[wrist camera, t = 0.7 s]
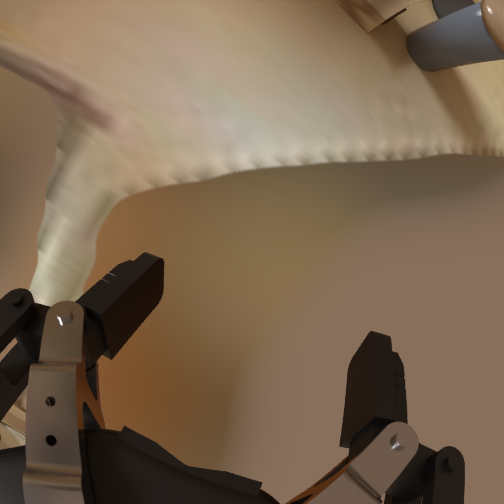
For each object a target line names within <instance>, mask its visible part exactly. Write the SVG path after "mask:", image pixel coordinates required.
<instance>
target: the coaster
mask: <svg viewBox="0 0 504 504" xmlns="http://www.w3.org/2000/svg"><path fill="white" fill-rule="evenodd" d="M432 3H433V7H434V10H435V12H436V14H437V16H438V18H439V19H440V18H442V17H445V16H447V15H449V14H451V13H454V12H456V11H459V10H461V9H463V8H466V7H468V6H471V5H474V4H475V3H474V2H473V1H472V0H432Z"/></svg>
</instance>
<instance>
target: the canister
mask: <svg viewBox="0 0 504 504" xmlns="http://www.w3.org/2000/svg"><path fill="white" fill-rule="evenodd" d="M407 49H408V52H409V54H410V56H411V58H412V59H413V61H414V62H415V63H416V64H417V65H418V66H419V67H421V68H422V69H424V70H426V71H430V72H434V71H439V70H443V69H448V68H453V67H458V66H463V65H469V64H474V63H480V62H487V61H494V60H502V59H504V0H482V1H481V2H479V3H476V4H474V5H471V6H468V7H466V8H463V9H461V10H459V11H456V12H454V13H451V14H449V15H447V16H445V17H442V18H440V19H438V20H436V21H434V22H431V23H429V24H427V25H425V26H423V27H421V28H419V29H417V30H415V31H413V32H411V33H410V34H409V35H408V37H407Z"/></svg>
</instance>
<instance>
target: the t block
mask: <svg viewBox="0 0 504 504" xmlns="http://www.w3.org/2000/svg"><path fill="white" fill-rule="evenodd" d="M336 3H338V4H339V5H340V6H341V7H342V8H343V9H344V10H345V11H346V12H347V13H348V14H349V15H350V16H351V17H352V18H353V19H354V20H355V21H356V22H357V23H358V24H359V25H360V26H361V27H362V28H363V29H364V30H365V31H366V32H367V33H368V32H370V31H371V30H373V29H374V28H376V27H377V26H379V25H380V24H383V25H384V24H386V23H387V22H389V21H390V20H392V19H393V18H395V17H396V16H398V15H399V14H401V13H403V12H404V11H406V10H407V9H406V7H408V6H410V5H411V4H413V3H412V1H411V0H337V1H336Z"/></svg>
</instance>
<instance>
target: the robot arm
mask: <svg viewBox="0 0 504 504" xmlns="http://www.w3.org/2000/svg"><path fill="white" fill-rule="evenodd" d="M163 289H164V260H163V259H162V258H160V257H157V256H155V255H152V254H149V253H147V252H144V253H143V254H141V255H140V256H139V257H138V258H137V259H135V260H134V261H132V260H128V261H126V262H123V263H121V264H118V265H117V266H116V267H115V268H113V269H112V270H111V271H110V272H109V274H106V275H105V276H104V277H103V278H102V280H99V281H98V282H97V283H96V284H95V285H94V286H92V287H91V288H90V289H89V290H88V291H87V292H86V293H85V294H83V295H82V296H81V297H80V298H79V299H78V300H77V301H75V302H73V301H61V302H58V303H56V304H54V305H53V306H52V307H49V306H46V305H42V304H38V303H35V302H34V299H33V296H32V294H31V292H30V291H29V290H27V289H22V288H19V289H15V290H12V291H10V292H9V293H8V294H6V295H5V296H4V297H3V298H2V299H0V353H1V352H2V351H3V350H4V349H5V348H6V346H7V345H8V344H9V343H10V342H11V341H12V340H13V339H14V338H16V340H17V341H18V342H17V344H16V345H15V346H14V347H13V348H12V349H11V350H10V351H9V352H8V354H7V355H6V356H5V357H4V358H3V360H1V362H0V422H1V420H2V419H3V417H4V416H5V415H6V413H7V412H8V411H9V409H10V408H11V406H12V405H13V404H14V402H15V401H16V400H17V398H18V397H19V396H20V394H21V393H22V392H23V390H24V389H25V388H26V386H27V385H28V389H27V403H26V445H24V446H19V447H13V448H8V449H2V450H0V504H280V503H279V502H278V501H276V499H274V498H273V497H272V496H271V495H269V494H268V493H266V492H265V491H263V490H261V489H260V488H261V485H262V482H259V481H256V480H252V479H249V478H245V477H242V476H239V475H235V474H233V473H229V472H226V471H217V470H210V469H203V468H197V467H190V466H187V465H185V464H183V463H182V462H181V461H179V460H178V459H177V458H175V457H174V456H173V455H171V454H170V453H169V452H167V451H166V450H165V449H163V448H162V447H161V446H160V445H159V444H157V443H156V442H154V441H152V440H150V439H148V438H146V437H145V436H143V435H141V434H139V433H137V432H135V431H133V430H131V429H129V428H128V427H126V426H124V427H123V429H122V431H121V432H120V431H115V430H109V429H106V427H105V422H104V417H103V414H102V410H101V404H100V392H99V372H98V358H100V356H101V355H104V356H106V357H107V358H109V359H111V360H112V359H113V358H114V357H115V355H116V354H117V353H118V352H119V350H120V349H121V348H122V347H123V346H124V344H125V343H126V342H127V341H128V339H129V338H130V337H131V336H132V335H133V333H134V332H135V331H136V330H137V329H138V327H139V326H140V325H141V324H142V323H143V321H144V320H145V319H146V318H147V317H148V315H149V314H150V313H151V312H152V311H153V310H154V308H155V307H156V306H157V305H158V304H159V302H160V300H161V297H162V295H163ZM0 441H1V435H0ZM339 446H340V447H345V448H349V455H348V456H347V457H346V458H344V459H343V460H342V461H341V462H340V463H339V464H338V465H337V466H335V467H334V468H333V469H332V470H331V471H330V472H328V473H327V474H326V475H325V476H323V477H322V478H321V479H320V480H319V481H317V482H316V483H315V484H313V485H312V486H311V487H309V488H308V489H307V490H305V491H304V492H302V493H301V494H299V495H297V496H296V497H294V498H293V499H291V500H290V501H289V502H287V503H286V504H381V503H382V500H381V499H380V498H381V496H382V495H383V494H384V493H386V494H385V500H384V504H421V502H422V504H464V487H465V463H464V458H463V456H462V454H461V453H460V451H459V450H458V449H456V448H455V447H451V446H447V447H444V448H442V449H441V450H440V451H438V452H436V451H434V450H432V449H430V448H428V447H426V446H424V445H422V444H420V443H419V441H418V437H417V434H416V432H415V431H414V430H413V428H412V427H411V426H409V425H408V423H407V401H406V389H405V379H404V366H403V363H402V361H401V359H400V357H399V355H398V353H396V352H393V351H392V343H391V337H390V336H387V335H384V334H381V333H377V332H374V331H370V332H369V333H368V335H367V336H366V338H365V339H364V341H363V343H362V344H361V346H360V347H359V349H358V350H357V352H356V353H355V355H354V356H353V358H352V360H351V362H350V364H349V368H348V373H347V385H346V396H345V407H344V416H343V423H342V431H341V439H340V445H339ZM422 497H423V498H422Z"/></svg>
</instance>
